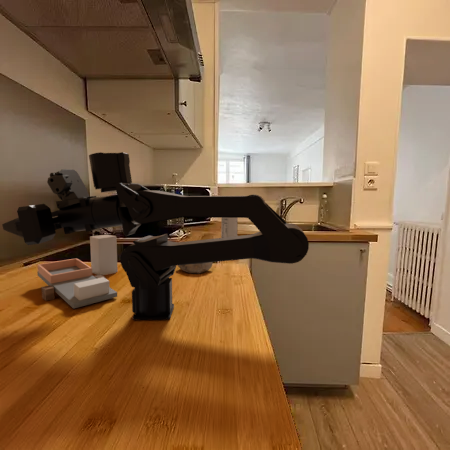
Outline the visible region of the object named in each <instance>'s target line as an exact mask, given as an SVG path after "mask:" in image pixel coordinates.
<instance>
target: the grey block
mask: <svg viewBox="0 0 450 450" xmlns="http://www.w3.org/2000/svg"><path fill="white" fill-rule="evenodd" d="M89 244H90V248H89V249H90V264H91V266H90V267H91V268H92V274H94V275H95V276H97V275H102V276H107V275H111V274H116V272H117V273H118V245H117V236H116V235H111V234H101V235H92V236H89Z"/></svg>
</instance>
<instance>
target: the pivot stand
mask: <svg viewBox="0 0 450 450" xmlns="http://www.w3.org/2000/svg"><path fill="white" fill-rule="evenodd" d="M93 276H94V277H95V278H102V277H104V278H106V276H105V275H93ZM55 298H56V297H55V291H54V288H53V287H52V286H50V285H49V286H48V285H45V286H41V299H42V300H44V301H45V302H47V301H51V300H52V301H53V300H55Z"/></svg>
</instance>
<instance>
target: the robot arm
mask: <svg viewBox="0 0 450 450" xmlns="http://www.w3.org/2000/svg"><path fill="white" fill-rule="evenodd" d="M88 160H89V166H90V173H91V177H92V183H93V188H94V189H95V190H100V193H101V194H102V193H103V194H105V193H114V192H116V194H112V195H105V196H98V197H97V195H92V196H90V194H89V192H88V189H87V187H86V185H85V183H84V182H83V180H82V178H81V176H80V174H79V173H78V171H77V170H75V169H74V168H73V169H67V168H65V169H64V168H63V169H61V170H58V171H56V172H50V173H49V177H48V178H47V181H46V182H47V184H48V186H49V188H50V190H51V192H52V193H53V194H55V195H57V197H58V198H59V199H60V200H56V201H55V204H56V205H55V206H56V208H57V210H54V211H51V207H49V206H48V205H46V204H45V203H39V204H31V205H23V206H19V207H18V208H17V210H16V213H17V217H16V218H14V219H10V220H8V221H6V222H3V223H2V229H3V231H4V232H5V231H6V232H8V233H11V234H12V235H16V236H18V237H20V238H22V239H23V242H24V243H25V244H26V246H27V245H28V246H33V245H40V244H42V243H46V242H49V241H51V240H54V237H55V236H56V234H57V230H60V229H63V232H64V234H65V235H70V234H73V233H76V232H81V231H85V232H93V231H95V230H98V229H99V230H100V229H106V228H114V227H122V232H123V233H122V234H123V236H125V237H127V236H130V235H134V234H136V231H137V230H138V228H139V227H141V225H147V224H148V225H149V224H153V223H158V222H159V223H160V222H165V221H169V220H173V219H180V218H219V219H221V218H239V219H241V218H242V219H244V218H245V219H248V220H249V221H250V222H251V223H252V224H253V225H254V226H255V227H256V229H258V231H256V232H255V233H251V234H244V235H237V236H234V237H224V238H221V237H217V238H216V237H215V238H208V239H207V238H206V239H197V240H189V241H187V240H186V241H179V242H176V241H171V240H169V238H168V237H169V235H168V233H164V234H162V235H157V236H153V235H147V236H144V237H143V236H142V237H141V238H137V239H135V240H133V241H132V243H133V244H130V245H127V246H126V247H124V249H123V251H122V252H121V255H120V257H119V259H120V265H121V268H122V269H123V272H125V274H126V276H127V279H128V281H129V283H130V287H132V288H133V289H132V291H131V308H132V309H131V311H132V313H133V316H132V320H133V321H148V320H149V321H153V320H154V321H156V320H157V321H159V320H161V321H162V320H163V321H164V320H165V321H166V320H167V321H168V320H170V319H171V317H172V314H173V310H174V307H175V303H173V278H172V277H173V275H174V274H175V272H176V271H175V270H176V268H177V267H178V265H187V264H198V263H209V262H212V263H216V262H219V263H220V262H227V261H228V262H229V261H237V260H239V261H240V260H247V259H248V260H249V259H252V260H259V261H263V262H269V263H277V264H278V263H279V264H289V265H291V264H292V265H293V264H296V263H300V262H301V261H302V260H304V258H305V257H306V256H307V254H308V251H309V249H310V247H309V246H310V243H309V240H308V237H307V235H306V234H305V232H304V231H303V229H302V228H301V227H299V225H297V224H295V223H289V222H287V221H286V220H285V219H284V218H283V217H282V216H281V215H279V213H278V212H277V211H275V209H273V208H272V207H271V206H270V205H269V204H268V203H267V202H266V200H265V199H264V197H263V196H261V195H259V194H255V193H253V194H248V195H190V196H189V195H183V194H178V193H174V192H168V191H162V190H155V189H154V190H153V189H152V190H150V189H148V188H147V187H145V186H143V185H142V184H141V183H139V182H135V183H134V182H133V181H132V174H131V169H130V168H131V167H130V163H131V162H130V154H129V153H127V152H123V151H122V152H101V151H100V152H95V153H91V154H89V155H88Z"/></svg>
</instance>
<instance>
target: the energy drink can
mask: <svg viewBox="0 0 450 450" xmlns="http://www.w3.org/2000/svg"><path fill="white" fill-rule="evenodd" d="M220 219H221V223H220V224H221V226H220V227H221V228H220V229H221V230H220V231H221V234H220V235H221V237H220V238H224V237H234V236H238V222H239V221H238V218H220Z"/></svg>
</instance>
